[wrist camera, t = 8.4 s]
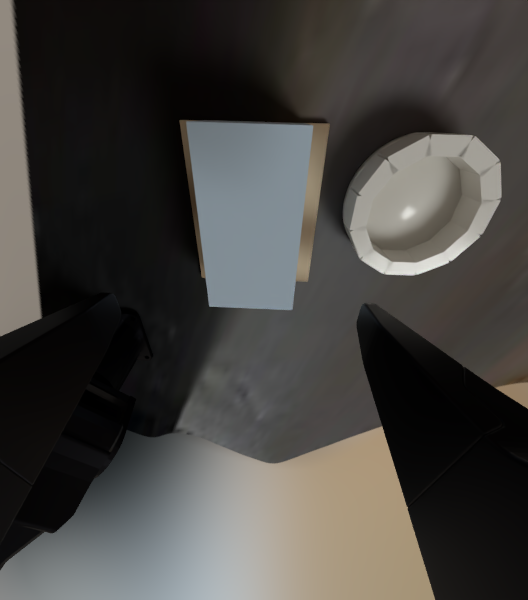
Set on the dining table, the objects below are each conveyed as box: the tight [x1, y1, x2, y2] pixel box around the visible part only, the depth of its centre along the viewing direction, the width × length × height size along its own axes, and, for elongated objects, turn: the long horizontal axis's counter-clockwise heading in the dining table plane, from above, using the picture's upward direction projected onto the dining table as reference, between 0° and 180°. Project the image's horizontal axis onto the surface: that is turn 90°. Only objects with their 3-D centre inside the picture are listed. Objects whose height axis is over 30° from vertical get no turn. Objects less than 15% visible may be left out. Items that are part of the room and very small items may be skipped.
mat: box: [179, 120, 330, 282], centre depth 19 cm, size 11×9×1 cm
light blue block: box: [186, 120, 313, 310], centre depth 17 cm, size 11×6×4 cm, turn 178°
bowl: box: [343, 132, 501, 275], centre depth 17 cm, size 8×8×3 cm
